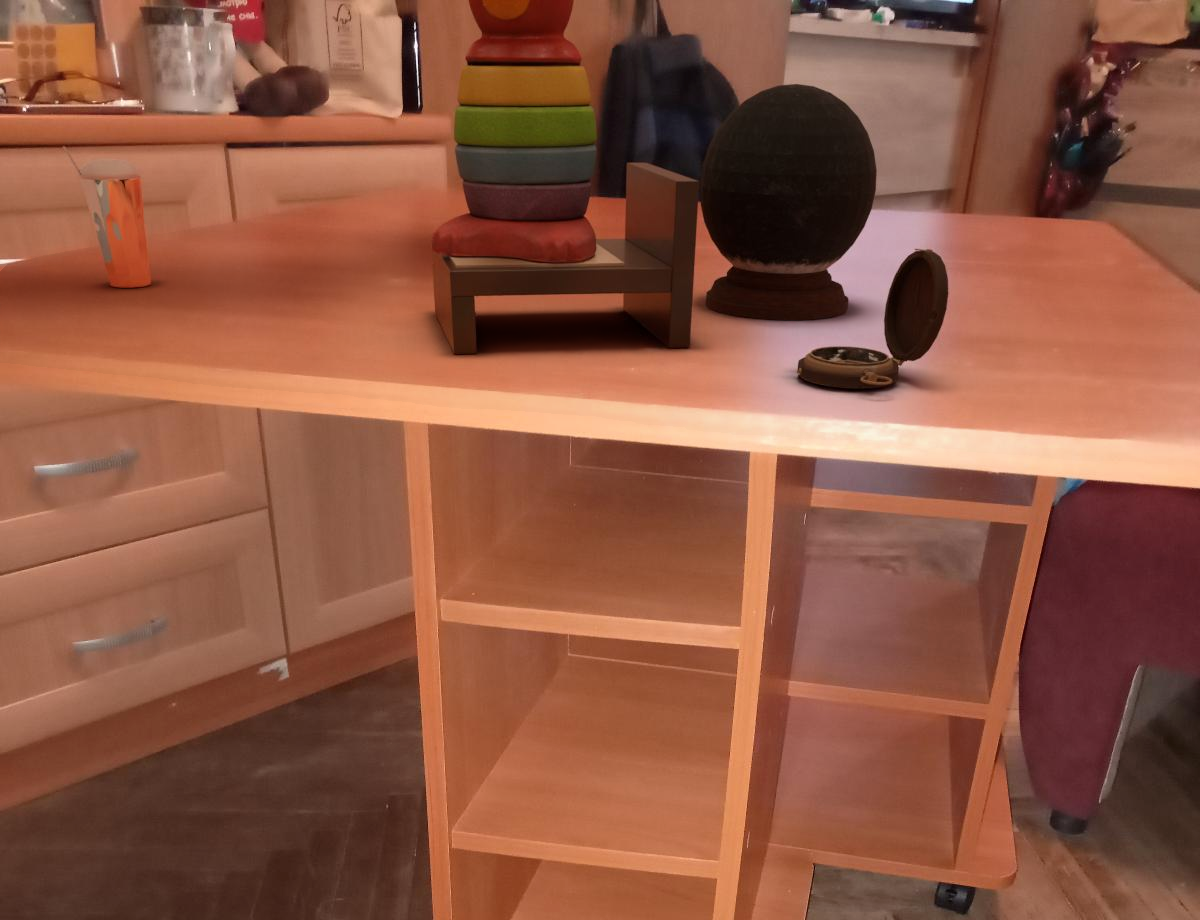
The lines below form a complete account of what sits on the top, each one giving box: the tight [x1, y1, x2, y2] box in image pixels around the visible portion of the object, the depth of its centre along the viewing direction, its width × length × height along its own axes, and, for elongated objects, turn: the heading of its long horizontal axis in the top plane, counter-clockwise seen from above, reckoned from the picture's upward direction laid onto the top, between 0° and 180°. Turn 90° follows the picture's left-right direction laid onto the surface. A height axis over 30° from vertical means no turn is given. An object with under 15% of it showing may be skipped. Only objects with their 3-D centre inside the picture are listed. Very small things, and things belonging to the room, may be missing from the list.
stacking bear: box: [431, 0, 598, 263], centre depth 74 cm, size 11×10×18 cm
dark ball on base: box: [699, 83, 878, 321], centre depth 87 cm, size 13×13×15 cm
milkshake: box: [62, 145, 152, 289], centre depth 92 cm, size 4×5×10 cm
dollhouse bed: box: [430, 162, 700, 355], centre depth 79 cm, size 16×14×10 cm
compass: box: [796, 248, 949, 390], centre depth 68 cm, size 8×8×7 cm
